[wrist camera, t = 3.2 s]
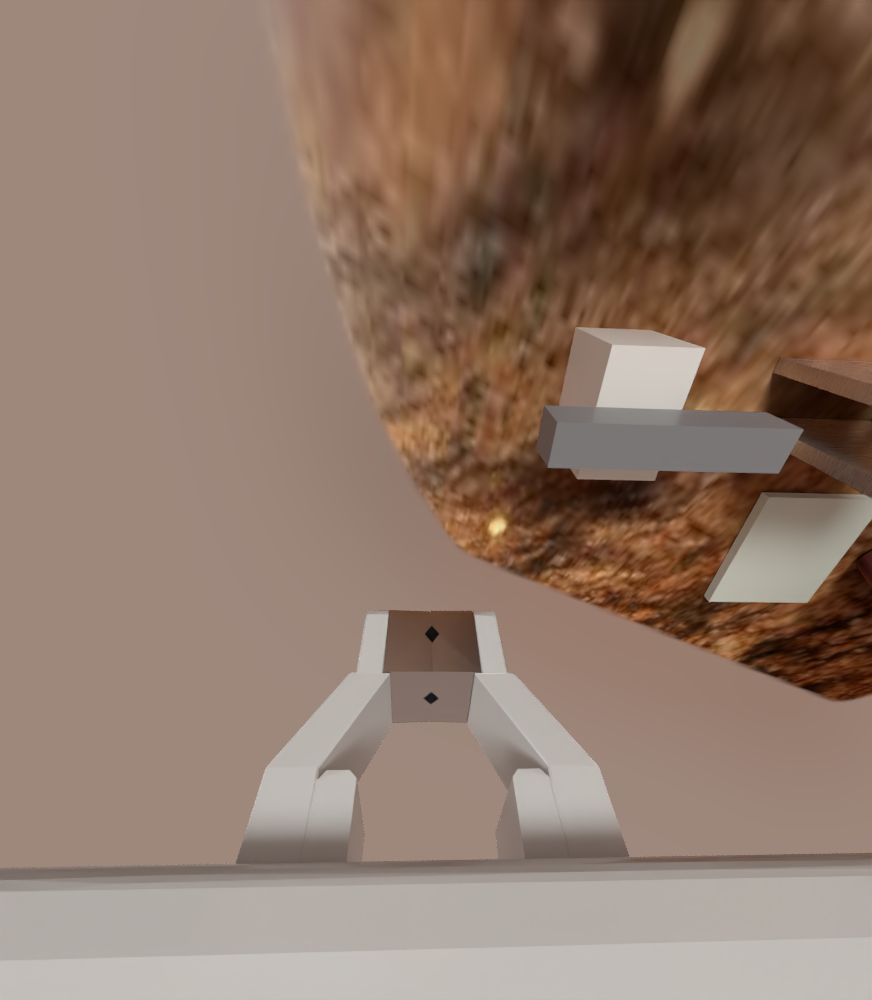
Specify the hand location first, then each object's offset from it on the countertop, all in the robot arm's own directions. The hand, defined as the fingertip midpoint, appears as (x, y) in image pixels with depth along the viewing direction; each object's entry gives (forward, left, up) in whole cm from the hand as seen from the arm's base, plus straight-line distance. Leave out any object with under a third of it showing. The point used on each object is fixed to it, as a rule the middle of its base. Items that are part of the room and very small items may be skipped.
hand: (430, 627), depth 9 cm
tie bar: (-12, 0, -13) cm, 18 cm away
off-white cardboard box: (-12, 0, -21) cm, 24 cm away
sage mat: (-33, +14, -21) cm, 41 cm away
